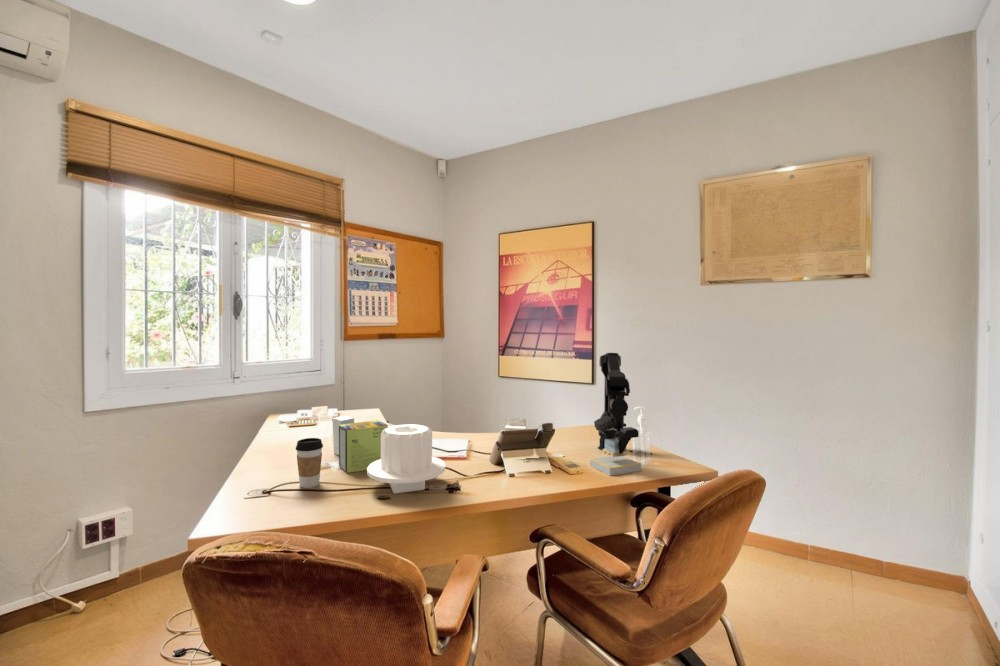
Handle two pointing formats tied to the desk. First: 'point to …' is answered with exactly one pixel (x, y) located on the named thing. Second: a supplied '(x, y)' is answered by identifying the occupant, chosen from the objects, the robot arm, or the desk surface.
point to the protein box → (360, 445)
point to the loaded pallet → (613, 448)
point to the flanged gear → (406, 458)
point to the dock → (615, 465)
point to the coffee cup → (309, 461)
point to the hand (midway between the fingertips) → (615, 451)
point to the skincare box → (336, 423)
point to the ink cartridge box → (515, 424)
